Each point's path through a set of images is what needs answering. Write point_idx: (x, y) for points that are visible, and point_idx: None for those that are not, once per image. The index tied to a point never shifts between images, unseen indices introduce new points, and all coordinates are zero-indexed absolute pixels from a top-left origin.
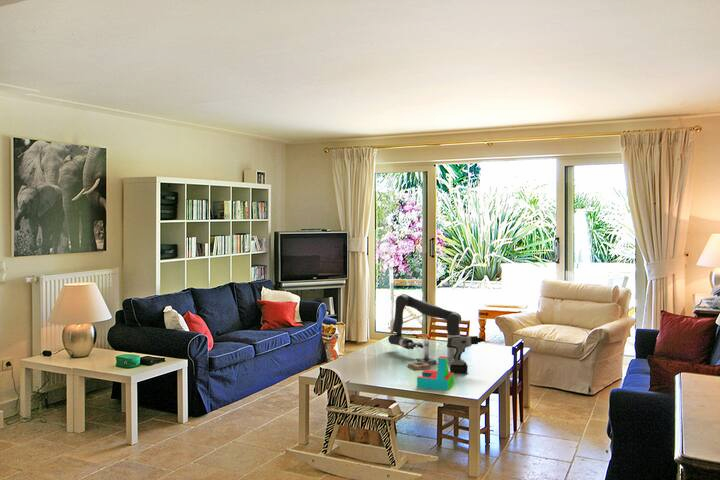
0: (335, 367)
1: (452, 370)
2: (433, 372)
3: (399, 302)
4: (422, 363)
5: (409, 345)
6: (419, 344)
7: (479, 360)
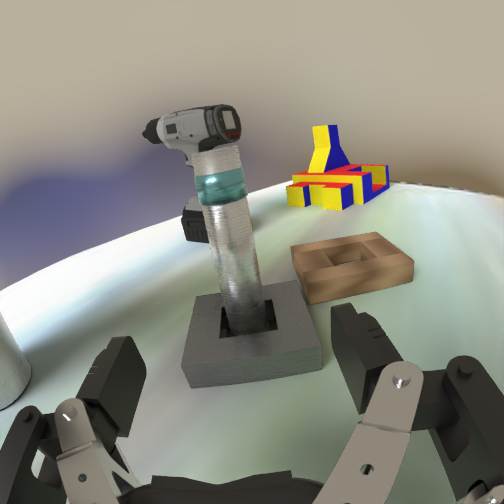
0: None
1: None
2: (342, 172)
3: None
4: (326, 257)
5: (399, 364)
6: (90, 415)
7: (18, 314)
